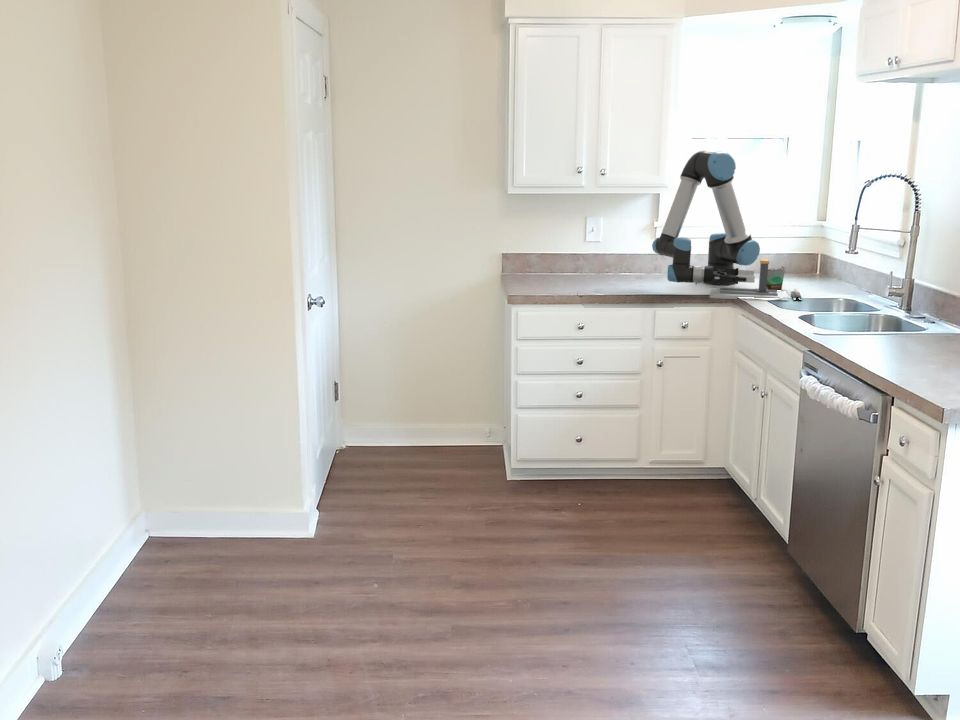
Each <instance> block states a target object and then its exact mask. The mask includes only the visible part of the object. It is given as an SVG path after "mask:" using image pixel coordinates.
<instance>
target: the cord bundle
mask: <svg viewBox="0 0 960 720" xmlns="http://www.w3.org/2000/svg"><path fill="white" fill-rule="evenodd" d="M790 295H791V298H792V297H793V298H797V297H798V298H800V299H801V298H802V296H801V293H800V291H798V289H797V288H794V289H793V290H792V291H790ZM793 298H792V299H793ZM798 298H797V299H798Z"/></svg>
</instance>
